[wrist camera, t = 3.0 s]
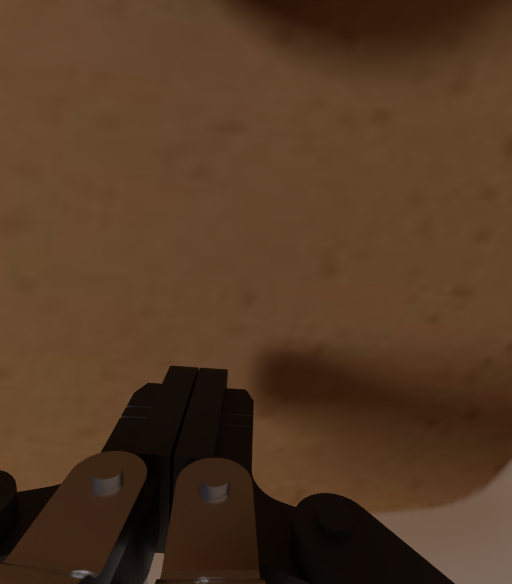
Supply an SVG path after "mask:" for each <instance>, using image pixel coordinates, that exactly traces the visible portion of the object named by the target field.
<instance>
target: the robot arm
mask: <svg viewBox="0 0 512 584" xmlns="http://www.w3.org/2000/svg"><path fill="white" fill-rule="evenodd" d="M227 378H228V370H227V369H213V368H200V370H199V368H197V367H183V366H170V368H169V370H168V372H167V374H166V376H165V379H164V381H163V383H162V384H157V383H147V384H146V385H144V386H143V387H142V388H140V389H139V390H137V391H136V392H135V393H134V394H133V396H132V398H131V399H130V401H129V403H128V405H127V408H125V410H124V412H123V414H122V415H121V418H120V419H119V421H118V423H117V424H116V426H115V428H114V430H113V432H112V433H111V435H110V437H109V439H108V441H107V442H106V444H105V446H104V448H103V450H102V451H101V453H98V454H95V455H93V456H90V457H88V458H86V459H84V460H83V461H81V462H80V463H78V464H77V465H76V466H75V467H74V468H73V469H72V470H71V472H70V473H69V474H68V476H67V477H66V478H65V480H64V481H63V482H62V484H59V485H55V486H50V487H45V488H39V489H33V490H27V491H21V492H17V487H16V482H15V479H14V478H13V476H11V475H10V474H9V473H7V472H5V471H1V470H0V584H147V576H148V574H149V571H150V567H151V564H152V560H153V557H154V553H165V554H164V561H163V567H162V572H161V578H160V579H157V580H156V582H155V584H454V583H453V582H452V581H451V580H450V579H448V578H447V577H446V576H445V575H444V574H442V573H441V572H440V571H439V570H438V569H436V568H435V567H434V566H433V565H432V564H430V563H429V562H428V561H427V560H425V559H424V558H423V557H422V556H421V555H419V554H418V553H417V552H416V551H414V550H413V549H412V548H411V547H410V546H409V545H407V544H406V543H405V542H404V541H402V540H401V539H400V538H399V537H398V536H396V535H395V534H394V533H393V532H392V531H390V530H389V529H388V528H386V527H385V526H384V525H383V524H382V523H381V522H379V521H378V520H377V519H376V518H375V517H373V516H372V515H371V514H370V513H368V512H367V511H366V510H365V509H364V508H362V507H361V506H360V505H358V504H357V503H356V502H354V501H352V500H350V499H348V498H346V497H343V496H340V495H336V494H330V493H320V494H314V495H311V496H308V497H306V498H305V499H303V500H302V501H301V502H300V503H299V504H298V505H297V506H296V507H294V506H291V505H288V504H285V503H282V502H280V501H277V500H275V499H273V498H271V497H270V496H268V495H267V494H265V493H264V492H263V491H262V490H261V489H260V488H259V487H258V485H257V484H256V483H255V481H254V479H253V476H252V439H253V405H254V401H253V399H252V398H251V396H250V395H249V394H248V392H247V391H246V390H243V389H229V388H227Z"/></svg>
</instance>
